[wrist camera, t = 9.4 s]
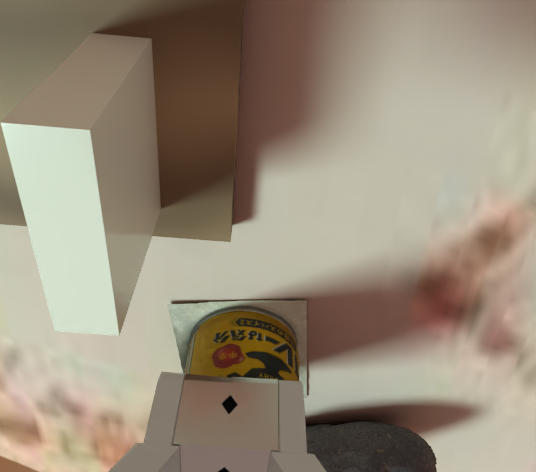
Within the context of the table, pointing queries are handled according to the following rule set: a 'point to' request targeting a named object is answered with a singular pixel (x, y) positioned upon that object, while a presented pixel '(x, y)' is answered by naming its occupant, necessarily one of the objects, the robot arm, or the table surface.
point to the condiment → (243, 339)
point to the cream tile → (89, 179)
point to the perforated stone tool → (369, 448)
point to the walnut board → (165, 86)
